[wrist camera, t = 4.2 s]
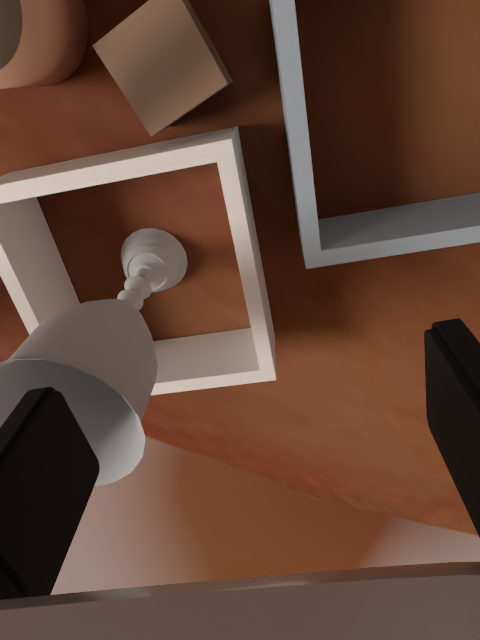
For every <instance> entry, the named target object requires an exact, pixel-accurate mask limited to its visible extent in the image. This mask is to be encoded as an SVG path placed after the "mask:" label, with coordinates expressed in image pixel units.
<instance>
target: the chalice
mask: <svg viewBox="0 0 480 640" xmlns="http://www.w3.org/2000/svg"><path fill="white" fill-rule="evenodd" d="M121 261H122V265H123V269H124V273H125V276H126V277H127V279H126V281H125V284H124V288H125V290H123V291H121V292H120V293H119V294H118V296H117V299H105V300H96V301H87V302H84V303H81V304H79V305H76V306H73V307H70V308H67V309H64V310H62V311H59V312H56V313H53V314H51V315H50V316H49V317H48V318H47V319H45V320H44V321H43V322H42V323H41V324H39V326H38V327H37V328H36V329H35V330H34V331H33V332H32V333H31V335H30V336H29V337H28V338H27V339H26V340H25V341H24V342H23V344H22V345H21V346H20V347H19V348H18V349H17V350H16V351H15V353H14V354H13V355H12V356H11V357H10V358H9V359H8V360H7V361H3V362H0V427H1V426H2V425H3V423H4V422H5V420H6V419H7V418H8V416H9V415H10V414H11V412H12V411H13V410H14V408H15V407H16V405H17V404H18V403H19V401H20V400H21V399H22V397H23V396H24V394H25V393H26V392H27V391H29V390H32V389H38V388H44V387H53V388H54V389H55V390H56V391H59V392H61V393H62V395H63V396H64V398H65V400H66V402H67V404H68V406H69V407H70V409H71V411H72V413H73V415H74V417H75V418H76V420H77V422H78V424H79V426H80V428H81V429H82V431H83V433H84V435H85V437H86V439H87V440H88V442H89V444H90V446H91V448H92V450H93V451H94V453H95V455H96V457H97V459H98V461H99V465H100V471H99V475H98V478H97V480H96V483H95V485H94V487H95V486H100V485H104V484H109V483H113V482H115V481H117V480H119V479H120V478H122V477H124V476H126V475H127V474H129V473H131V472H132V471H133V469H134V468H135V467H136V465H137V464H138V463H139V461H140V460H141V459H142V457H143V452H144V445H145V435H144V432H143V428H142V425H141V421H142V418H143V415H144V412H145V410H146V407H147V404H148V401H149V398H150V395H151V393H152V390H153V387H154V384H155V381H156V376H157V369H158V364H157V359H156V353H155V348H154V344H153V340H152V336H151V333H150V331H149V328H148V326H147V324H146V322H145V320H144V318H143V316H142V315H141V313H140V312H139V310H140V309H141V308H142V307H143V299H146V298H147V297H149V296H150V294H151V292H159V291H162V290H166V289H169V288H171V287H174V286H175V285H176V284H178V283H179V282H180V281H181V280H182V278H183V277H184V275H185V273H186V269H187V264H188V262H187V256H186V252H185V250H184V248H183V246H182V244H181V243H180V242H179V241H178V240H177V239H176V238H175V237H174V236H173V235H171V234H169V233H167V232H166V231H164V230H160V229H156V228H143V229H140V230H138V231H135V232H133V233H132V234H131V235H130V236H129V237H127V238H126V240H125V242H124V244H123V246H122V248H121Z"/></svg>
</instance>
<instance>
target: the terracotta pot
mask: <svg viewBox="0 0 480 640" xmlns="http://www.w3.org/2000/svg"><path fill="white" fill-rule="evenodd" d="M88 35H89V26H88V17H87V11H86V7H85V4H84V1H83V0H0V89H3V88H17V87H32V86H46V85H53V84H56V83H59V82H61V81H63V80H65V79H67V78H68V77H69V76H71V75H72V74H73V73H74V72H75V71H76V69H77V68H78V66H79V65H80V63H81V61H82V59H83V58H84V55H85V52H86V48H87V44H88Z"/></svg>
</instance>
